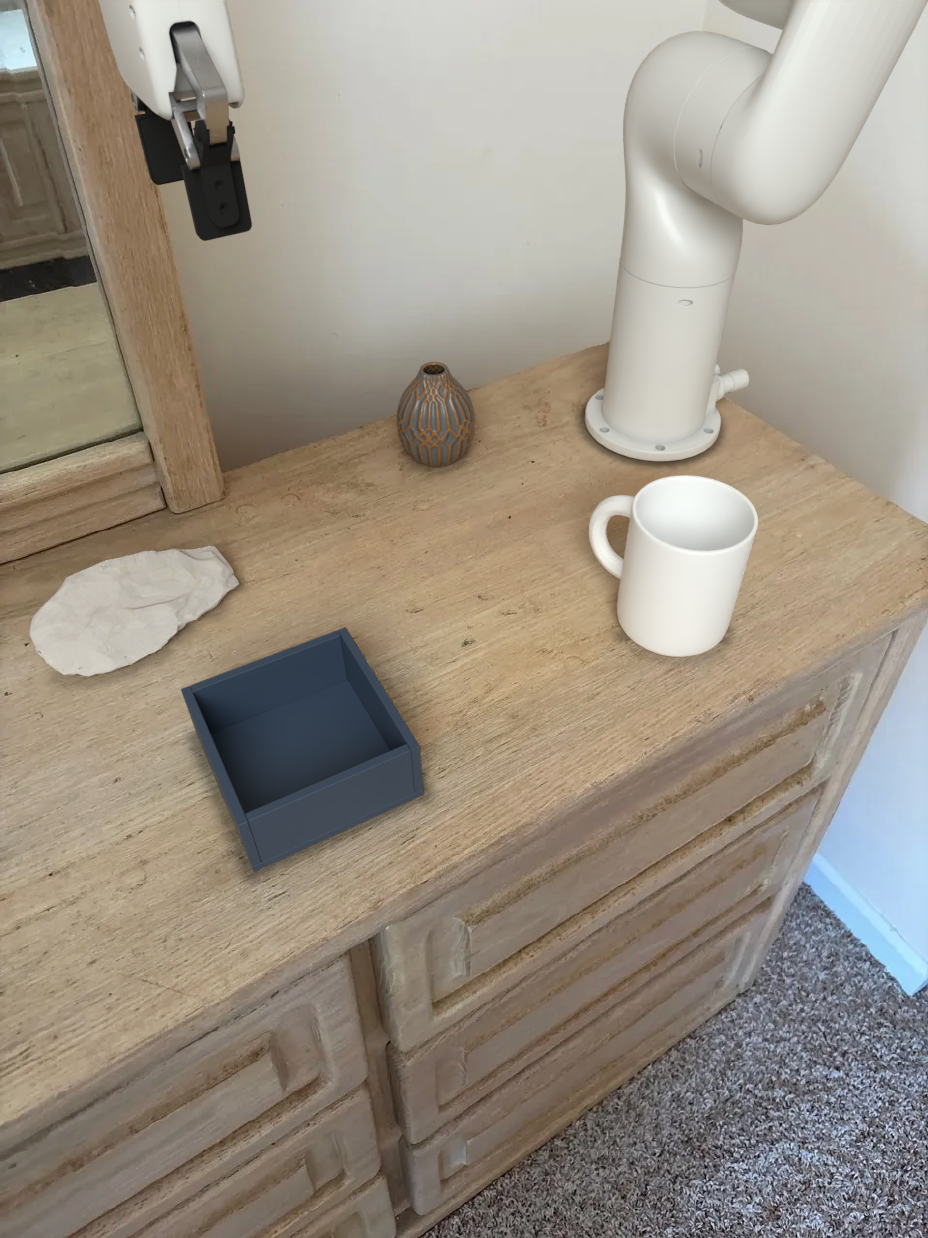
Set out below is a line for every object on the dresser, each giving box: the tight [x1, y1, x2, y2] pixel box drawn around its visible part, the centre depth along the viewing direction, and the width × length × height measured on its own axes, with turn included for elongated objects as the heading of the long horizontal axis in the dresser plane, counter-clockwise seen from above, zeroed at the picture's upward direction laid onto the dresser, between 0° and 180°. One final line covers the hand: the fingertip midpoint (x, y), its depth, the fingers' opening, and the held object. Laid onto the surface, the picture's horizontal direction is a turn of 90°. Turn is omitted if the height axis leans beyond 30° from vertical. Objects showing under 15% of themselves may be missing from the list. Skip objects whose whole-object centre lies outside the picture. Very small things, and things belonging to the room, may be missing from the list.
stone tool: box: [29, 544, 240, 677], centre depth 67 cm, size 9×3×15 cm
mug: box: [588, 474, 759, 658], centre depth 65 cm, size 12×8×10 cm
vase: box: [396, 361, 476, 468], centre depth 79 cm, size 7×7×9 cm
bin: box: [180, 627, 425, 873], centre depth 57 cm, size 11×11×5 cm
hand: (199, 205), depth 55 cm, fingers open, 9 cm apart
